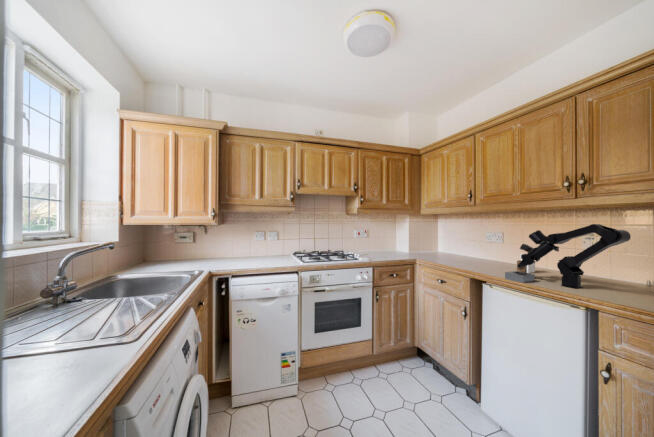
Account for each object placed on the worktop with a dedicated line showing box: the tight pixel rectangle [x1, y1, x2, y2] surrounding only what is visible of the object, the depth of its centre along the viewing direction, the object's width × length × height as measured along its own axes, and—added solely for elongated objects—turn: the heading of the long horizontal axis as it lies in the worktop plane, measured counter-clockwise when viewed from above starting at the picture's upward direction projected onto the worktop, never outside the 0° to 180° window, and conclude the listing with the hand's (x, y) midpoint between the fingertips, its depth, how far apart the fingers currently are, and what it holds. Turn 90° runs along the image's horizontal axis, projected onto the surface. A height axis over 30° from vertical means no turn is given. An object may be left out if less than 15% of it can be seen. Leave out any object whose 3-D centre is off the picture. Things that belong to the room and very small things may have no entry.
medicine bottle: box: [520, 253, 536, 274], centre depth 169 cm, size 7×7×12 cm
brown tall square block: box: [516, 259, 527, 273], centre depth 153 cm, size 4×4×10 cm
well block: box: [504, 270, 535, 284], centre depth 146 cm, size 10×10×4 cm
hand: (519, 266), depth 155 cm, fingers open, 5 cm apart
